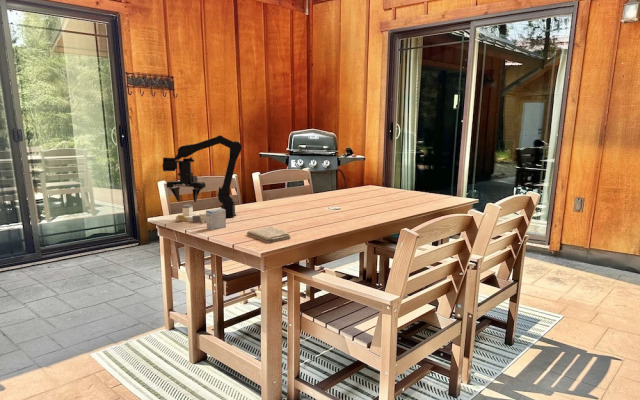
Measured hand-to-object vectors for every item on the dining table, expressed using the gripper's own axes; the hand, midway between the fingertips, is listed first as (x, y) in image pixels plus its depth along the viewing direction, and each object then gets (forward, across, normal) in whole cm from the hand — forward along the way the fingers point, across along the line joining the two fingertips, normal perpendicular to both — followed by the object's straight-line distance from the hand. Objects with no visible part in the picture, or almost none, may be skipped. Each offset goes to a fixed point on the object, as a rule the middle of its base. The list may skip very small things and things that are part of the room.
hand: (186, 201), depth 212 cm
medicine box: (+9, -23, +15) cm, 29 cm away
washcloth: (+10, -52, +24) cm, 58 cm away
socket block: (+9, -4, 0) cm, 10 cm away
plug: (+9, 0, 0) cm, 9 cm away
